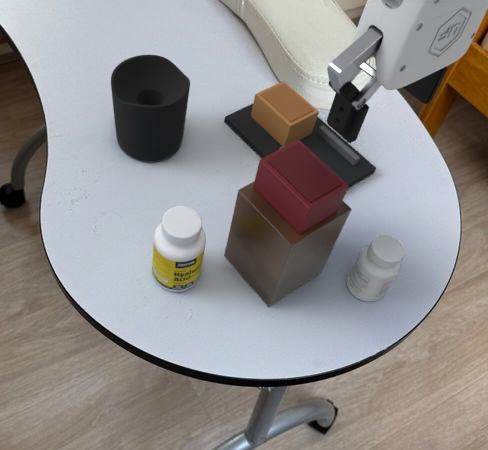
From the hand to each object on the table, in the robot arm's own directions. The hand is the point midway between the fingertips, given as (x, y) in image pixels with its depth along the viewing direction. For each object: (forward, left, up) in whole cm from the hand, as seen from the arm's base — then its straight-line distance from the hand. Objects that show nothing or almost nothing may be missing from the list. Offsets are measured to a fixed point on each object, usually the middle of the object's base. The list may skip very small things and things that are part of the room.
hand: (379, 112), depth 53 cm
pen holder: (+25, +8, -21) cm, 33 cm away
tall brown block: (+1, +7, -21) cm, 22 cm away
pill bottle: (-7, 0, -21) cm, 22 cm away
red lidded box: (+1, +7, -9) cm, 11 cm away
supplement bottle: (+6, +17, -21) cm, 28 cm away
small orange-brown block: (+17, -8, -20) cm, 27 cm away
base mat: (+13, -8, -21) cm, 26 cm away
